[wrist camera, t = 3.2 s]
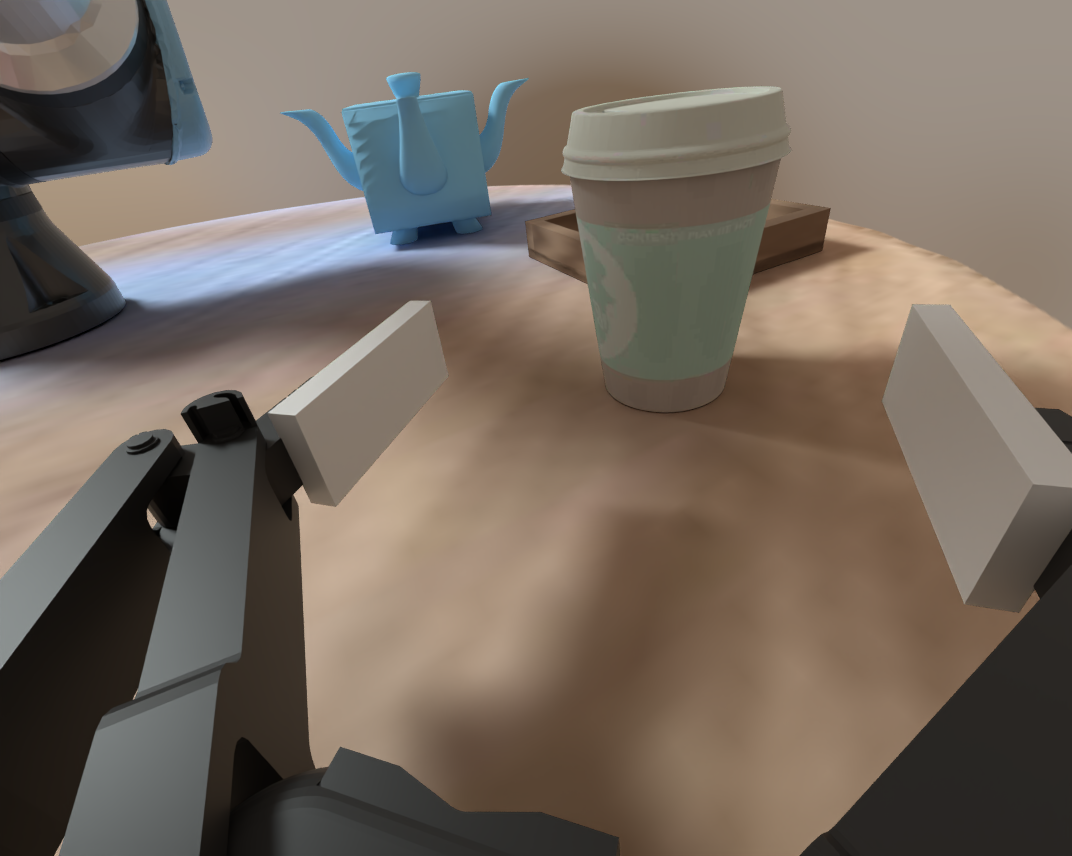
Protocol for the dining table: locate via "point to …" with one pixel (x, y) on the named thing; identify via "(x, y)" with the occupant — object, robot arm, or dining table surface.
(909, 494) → the dining table surface
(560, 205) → the dining table surface
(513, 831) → the robot arm
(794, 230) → the wooden tray
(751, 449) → the dining table surface
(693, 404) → the coffee cup
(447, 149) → the teakettle
